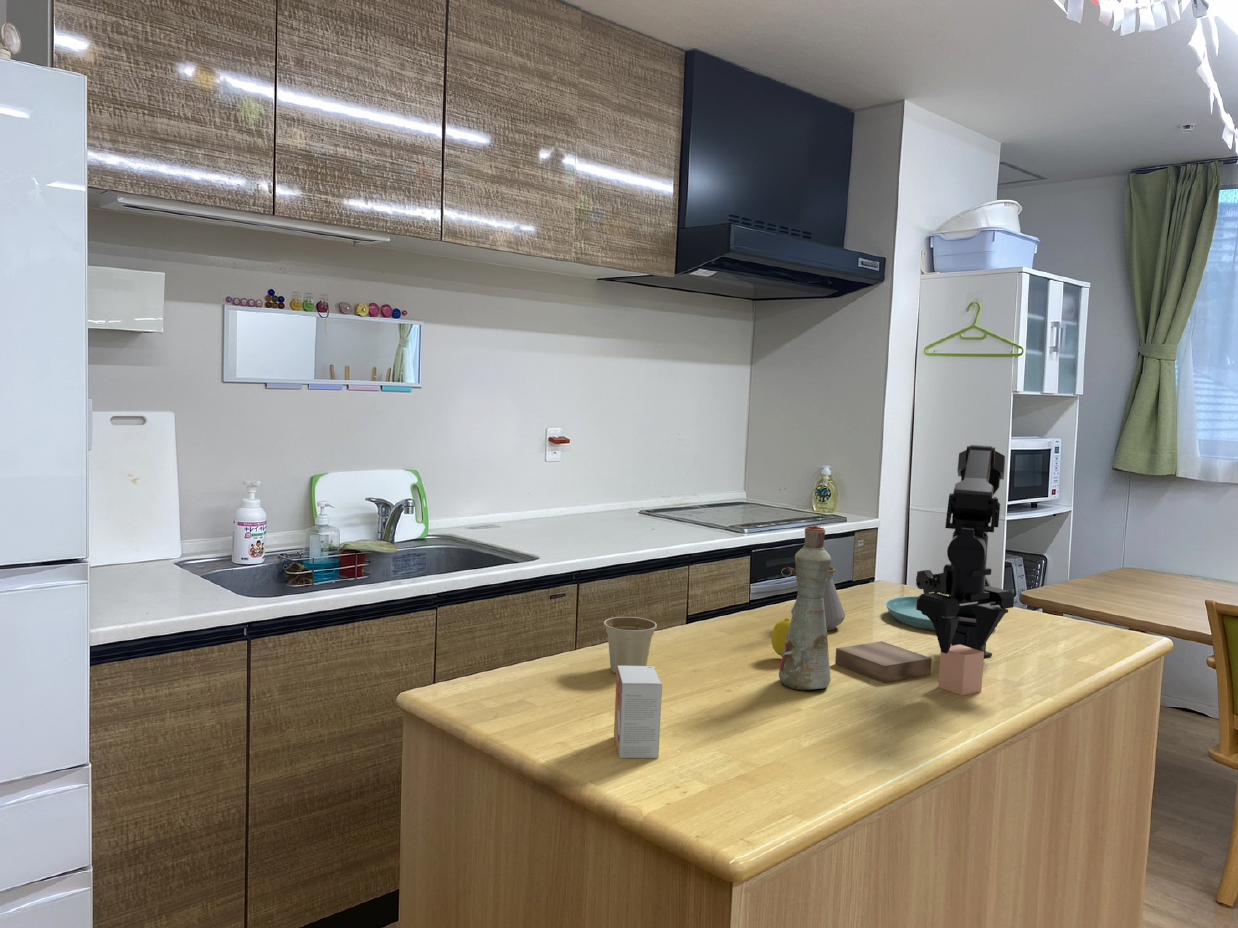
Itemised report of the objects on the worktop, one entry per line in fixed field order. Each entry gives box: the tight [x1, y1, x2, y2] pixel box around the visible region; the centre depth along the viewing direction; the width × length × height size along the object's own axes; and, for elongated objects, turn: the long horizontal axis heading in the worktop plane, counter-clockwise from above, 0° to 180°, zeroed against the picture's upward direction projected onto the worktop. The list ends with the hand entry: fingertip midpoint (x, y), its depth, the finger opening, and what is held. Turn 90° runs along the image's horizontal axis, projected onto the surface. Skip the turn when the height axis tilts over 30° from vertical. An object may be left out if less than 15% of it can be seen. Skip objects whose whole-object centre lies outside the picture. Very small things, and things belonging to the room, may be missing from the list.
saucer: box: [885, 595, 935, 631], centre depth 206 cm, size 24×24×3 cm
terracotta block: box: [937, 645, 985, 696], centre depth 157 cm, size 5×5×7 cm
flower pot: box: [603, 616, 658, 675], centre depth 160 cm, size 9×9×9 cm
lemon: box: [771, 617, 791, 658], centre depth 171 cm, size 6×6×8 cm
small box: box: [613, 665, 663, 759], centre depth 126 cm, size 8×6×10 cm
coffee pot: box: [781, 566, 846, 631], centre depth 193 cm, size 21×12×15 cm, turn 141°
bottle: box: [778, 524, 832, 691], centre depth 155 cm, size 9×9×28 cm
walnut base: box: [834, 640, 933, 683], centre depth 167 cm, size 12×12×3 cm
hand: (962, 649), depth 157 cm, fingers open, 9 cm apart
